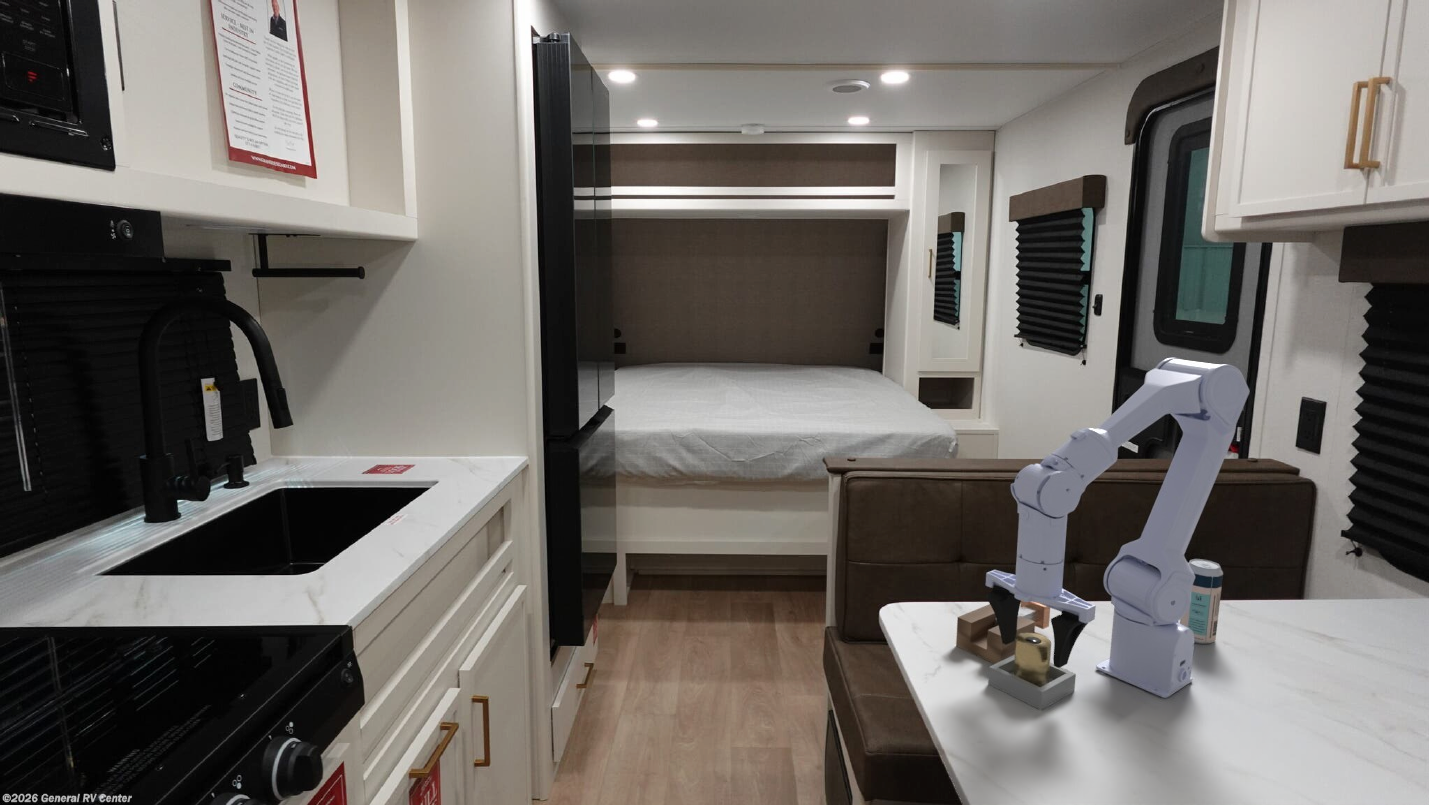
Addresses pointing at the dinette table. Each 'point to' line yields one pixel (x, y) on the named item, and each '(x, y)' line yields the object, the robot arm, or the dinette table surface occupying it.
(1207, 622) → the beer can
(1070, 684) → the socket
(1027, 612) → the shaft
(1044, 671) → the pepper mill
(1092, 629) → the dinette table surface
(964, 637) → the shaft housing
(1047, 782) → the dinette table surface
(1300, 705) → the dinette table surface
